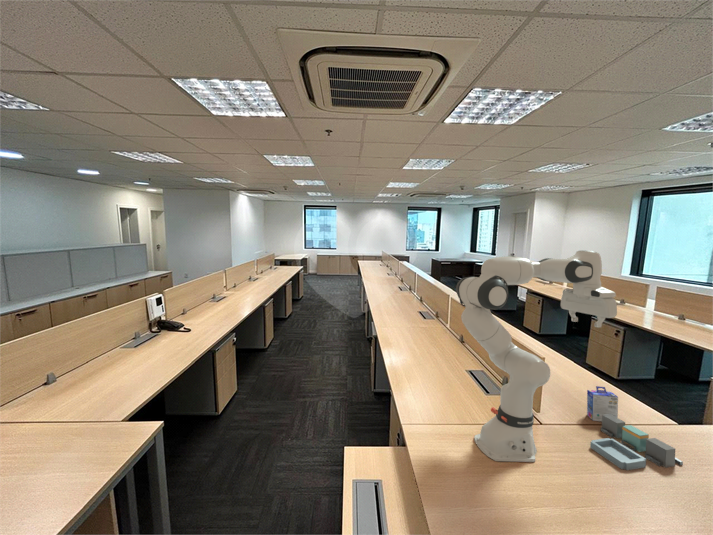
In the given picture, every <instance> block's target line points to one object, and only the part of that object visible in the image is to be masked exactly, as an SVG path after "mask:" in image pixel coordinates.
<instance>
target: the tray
mask: <svg viewBox="0 0 713 535" xmlns="http://www.w3.org/2000/svg"><path fill="white" fill-rule="evenodd" d="M589 445H590V447H589V448H590V449H592V451H594V452H596V453H597V454H599V455H601V457H603V458H605V459H606V460H608V461H609V462H610V463H612V464H613V465H615V466H616V467H618V468H619V469H621V470H626V471H629V470H630V471H631V470H637V469H638V470H639V469H644V468H646V466H647V459H646V458H645V456H643V455H640V454H639V453H637V452H635V451H633V450H631V449H630V448H628V447H626V446H625V445H623V444H622V443H621V442H619V441H617V439H614V438H609V437H607V438H606V437H605V438H599V439H598V438H597V439H591V441H590V444H589Z"/></svg>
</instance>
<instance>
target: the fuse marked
mask: <svg viewBox="0 0 713 535" xmlns="http://www.w3.org/2000/svg"><path fill="white" fill-rule="evenodd" d="M622 429H623V430H622V438H621V440H623V439H624V440H625V441H627V442H629V443H630V444H632V445H634V446H635V447H636V451H637V452H639V453H640V452H641V453H642V452H643V453H644V452H646V439H650V436H649V434H648V433H647V432H645V431H643V430H641V429H639V428H637V427H635V426H633V425H632V424H630V425H628V424H627V425H625V426H623V427H622Z"/></svg>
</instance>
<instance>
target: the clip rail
mask: <svg viewBox="0 0 713 535" xmlns="http://www.w3.org/2000/svg"><path fill="white" fill-rule="evenodd" d="M600 432H602V433H603V434H605V435H607V436H608V437H610V438H615V437H614V434H613V433H612V432H610V431H608V430H607V429H605V428H603V427H602V426H601V427H600ZM620 443H621V444H622V445H624V446H626V447H627V448H629V449H631V450H632V451H634V452H635V451H637V450H636V447H635V446H634V445H632V444H630V443H629V442H627V441H625V440H624V439H623V440H622V439H621V442H620ZM644 458H646V460H647V461H650V462H651V463H653V464H655V465H656V466H658V467H663V466H662V462H661V461H659V460H658V459H656V458H654V457H653V456H651V455H649V454H647V453H646V452H645V453H644ZM675 464H678V465H679V466H683V464H684V461H682V460H680V459H679V458H677V457H675Z"/></svg>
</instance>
